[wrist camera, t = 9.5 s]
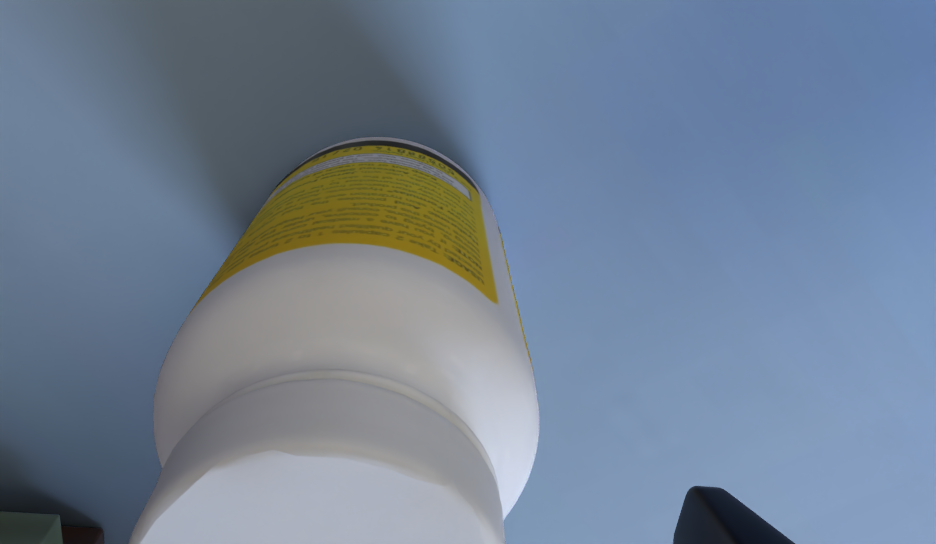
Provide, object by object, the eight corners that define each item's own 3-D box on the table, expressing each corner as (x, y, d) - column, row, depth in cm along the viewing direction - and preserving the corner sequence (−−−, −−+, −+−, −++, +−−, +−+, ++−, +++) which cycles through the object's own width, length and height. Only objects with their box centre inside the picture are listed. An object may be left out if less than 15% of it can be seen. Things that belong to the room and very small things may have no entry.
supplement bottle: (213, 199, 16) (-80, 514, 7) (435, 88, 15) (440, 272, 6) (337, 386, 18) (240, 823, 9) (537, 297, 17) (656, 670, 8)
